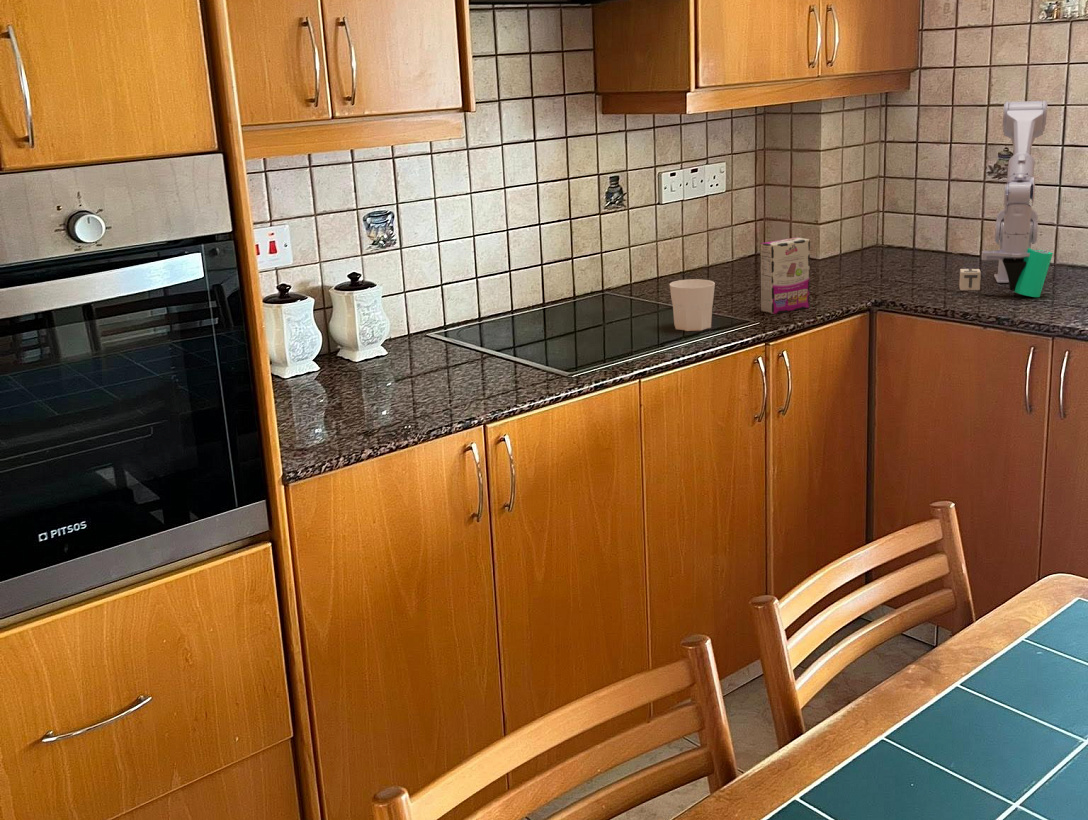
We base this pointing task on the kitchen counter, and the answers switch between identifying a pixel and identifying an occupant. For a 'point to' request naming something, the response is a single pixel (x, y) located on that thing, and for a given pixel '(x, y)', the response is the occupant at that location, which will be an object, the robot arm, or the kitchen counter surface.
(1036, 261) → the candle
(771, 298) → the candy bar box
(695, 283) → the cup
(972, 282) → the letter cube
